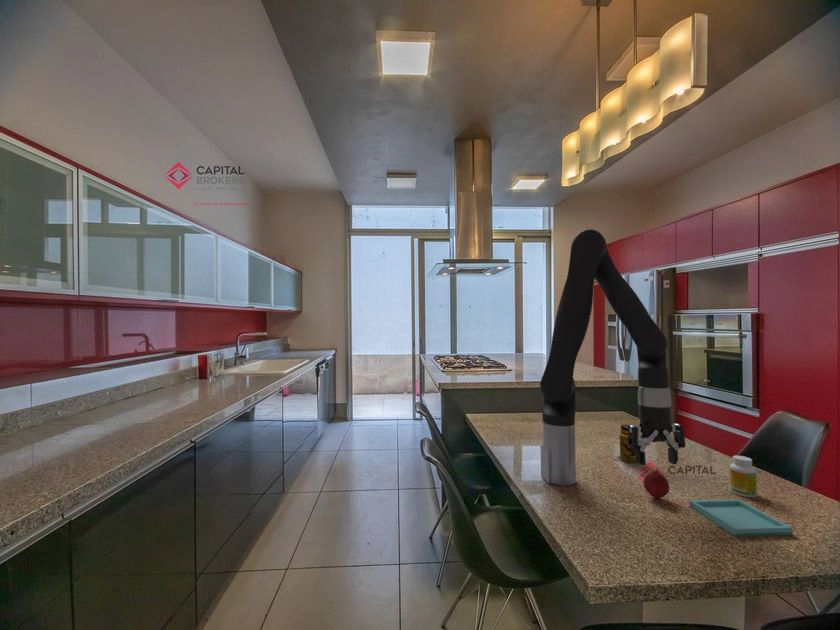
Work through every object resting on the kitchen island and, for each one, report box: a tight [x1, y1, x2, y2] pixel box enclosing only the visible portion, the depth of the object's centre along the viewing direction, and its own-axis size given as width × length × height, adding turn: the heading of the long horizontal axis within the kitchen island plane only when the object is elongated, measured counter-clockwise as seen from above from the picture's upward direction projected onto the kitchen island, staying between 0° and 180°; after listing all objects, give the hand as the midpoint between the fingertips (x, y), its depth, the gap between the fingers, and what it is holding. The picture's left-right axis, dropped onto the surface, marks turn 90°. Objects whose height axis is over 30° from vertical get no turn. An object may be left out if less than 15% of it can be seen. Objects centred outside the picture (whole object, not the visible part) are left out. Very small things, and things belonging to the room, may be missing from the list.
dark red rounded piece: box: [643, 467, 670, 500], centre depth 97 cm, size 6×6×8 cm
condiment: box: [610, 424, 648, 467], centre depth 124 cm, size 7×8×12 cm
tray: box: [688, 498, 793, 537], centre depth 86 cm, size 13×13×2 cm
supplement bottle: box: [729, 455, 758, 498], centre depth 100 cm, size 5×5×10 cm
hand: (657, 463), depth 97 cm, fingers open, 8 cm apart
